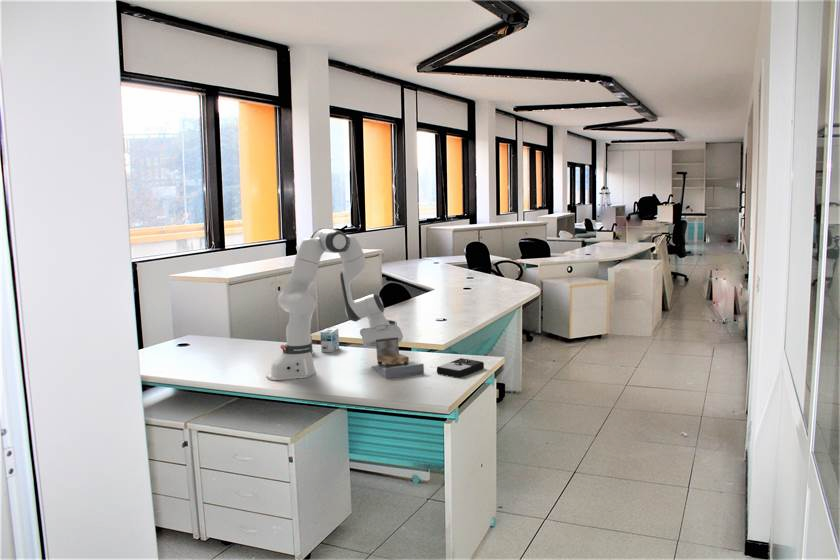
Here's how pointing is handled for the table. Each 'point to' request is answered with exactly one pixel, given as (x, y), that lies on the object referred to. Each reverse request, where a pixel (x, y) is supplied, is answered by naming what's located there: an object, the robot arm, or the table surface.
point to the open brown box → (389, 352)
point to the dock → (399, 370)
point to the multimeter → (460, 367)
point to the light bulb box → (329, 340)
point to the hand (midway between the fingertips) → (386, 350)
